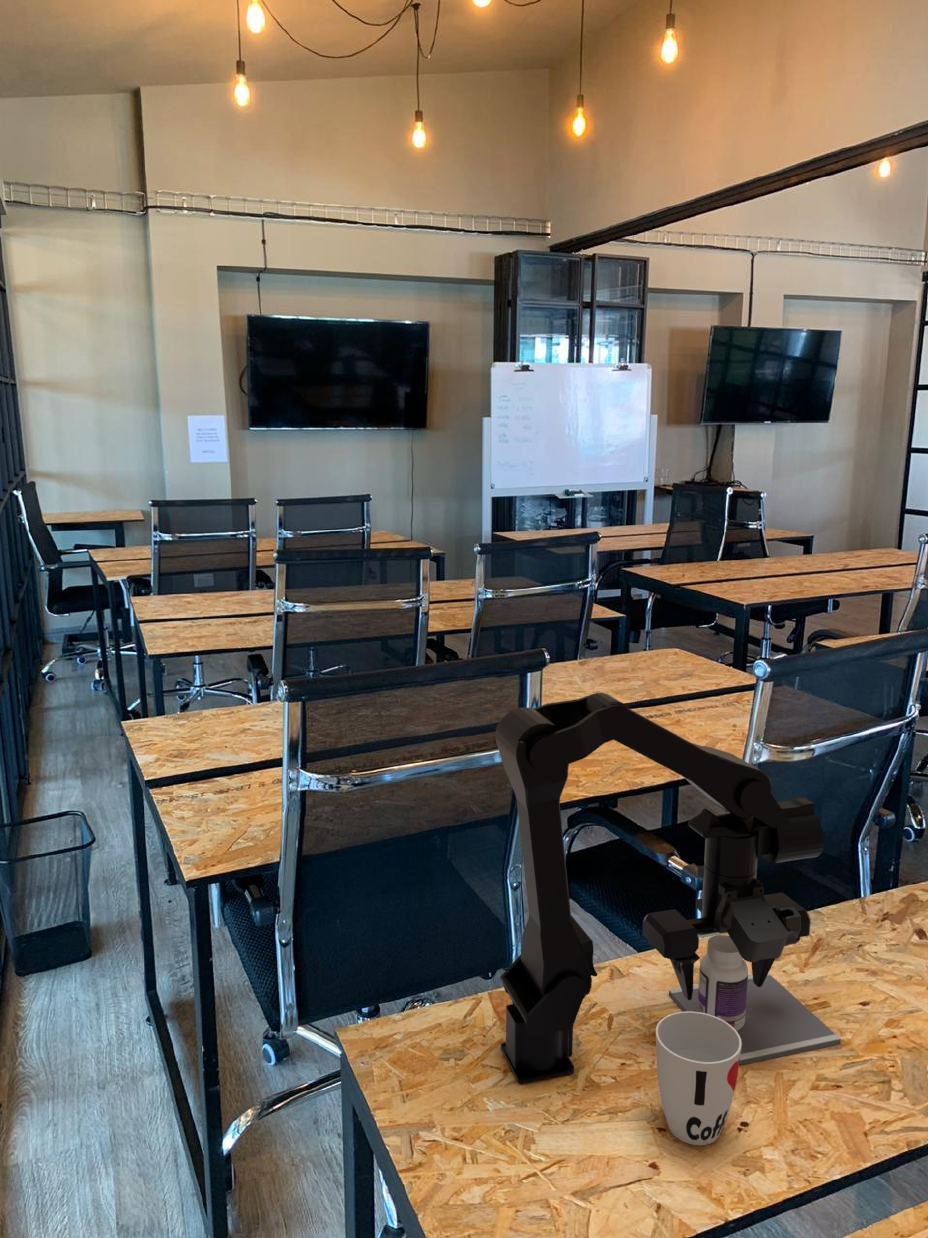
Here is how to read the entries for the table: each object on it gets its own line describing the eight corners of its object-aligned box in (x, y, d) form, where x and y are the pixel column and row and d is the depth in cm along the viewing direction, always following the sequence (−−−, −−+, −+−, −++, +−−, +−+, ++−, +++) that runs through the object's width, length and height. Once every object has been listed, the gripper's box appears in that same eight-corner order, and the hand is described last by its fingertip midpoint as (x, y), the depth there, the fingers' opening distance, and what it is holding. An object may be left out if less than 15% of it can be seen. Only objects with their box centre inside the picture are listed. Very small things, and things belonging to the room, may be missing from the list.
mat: (731, 1067, 101) (732, 1061, 101) (668, 994, 114) (668, 989, 114) (840, 1044, 105) (841, 1038, 104) (767, 976, 118) (767, 971, 118)
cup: (684, 1167, 87) (689, 1073, 85) (636, 1111, 94) (639, 1023, 92) (753, 1142, 90) (759, 1050, 88) (701, 1089, 97) (705, 1003, 95)
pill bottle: (752, 1018, 108) (757, 942, 106) (732, 1040, 104) (738, 962, 102) (709, 1000, 112) (713, 926, 110) (688, 1021, 108) (693, 945, 106)
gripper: (693, 912, 94) (686, 1049, 97) (848, 887, 99) (837, 1018, 102) (642, 865, 105) (637, 990, 108) (784, 845, 110) (776, 965, 113)
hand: (722, 991), depth 107 cm, fingers open, 9 cm apart
